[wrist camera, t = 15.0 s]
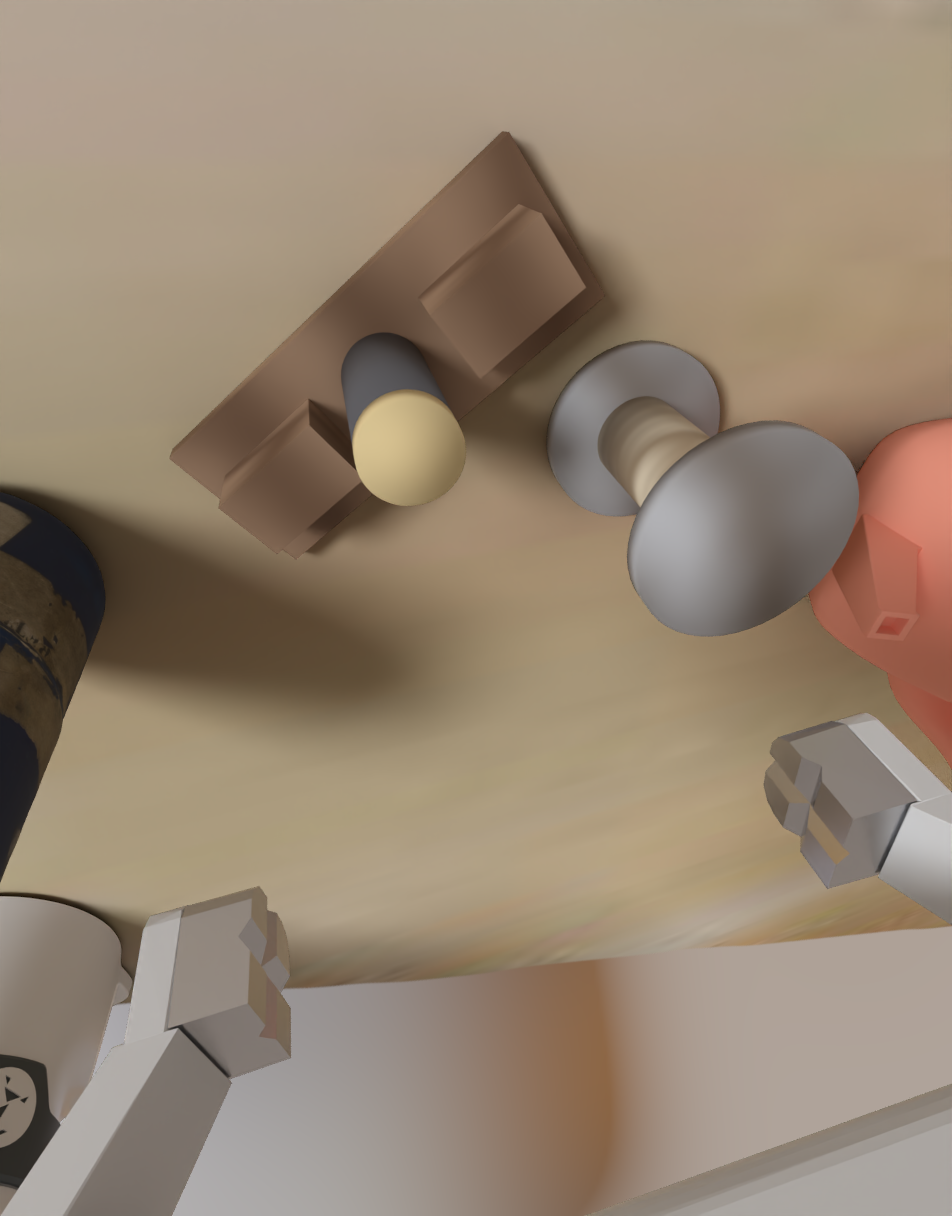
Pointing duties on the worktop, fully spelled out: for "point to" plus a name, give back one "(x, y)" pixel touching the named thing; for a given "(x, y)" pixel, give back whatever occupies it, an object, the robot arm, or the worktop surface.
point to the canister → (38, 648)
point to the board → (410, 307)
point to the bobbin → (700, 489)
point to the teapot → (901, 575)
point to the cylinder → (399, 422)
